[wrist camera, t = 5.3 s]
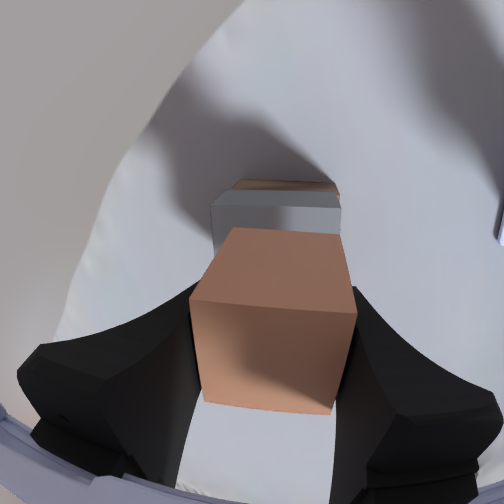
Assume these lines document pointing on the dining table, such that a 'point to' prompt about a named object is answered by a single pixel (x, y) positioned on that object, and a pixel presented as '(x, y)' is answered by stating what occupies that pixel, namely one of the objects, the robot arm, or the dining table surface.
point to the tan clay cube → (274, 321)
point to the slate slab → (274, 212)
